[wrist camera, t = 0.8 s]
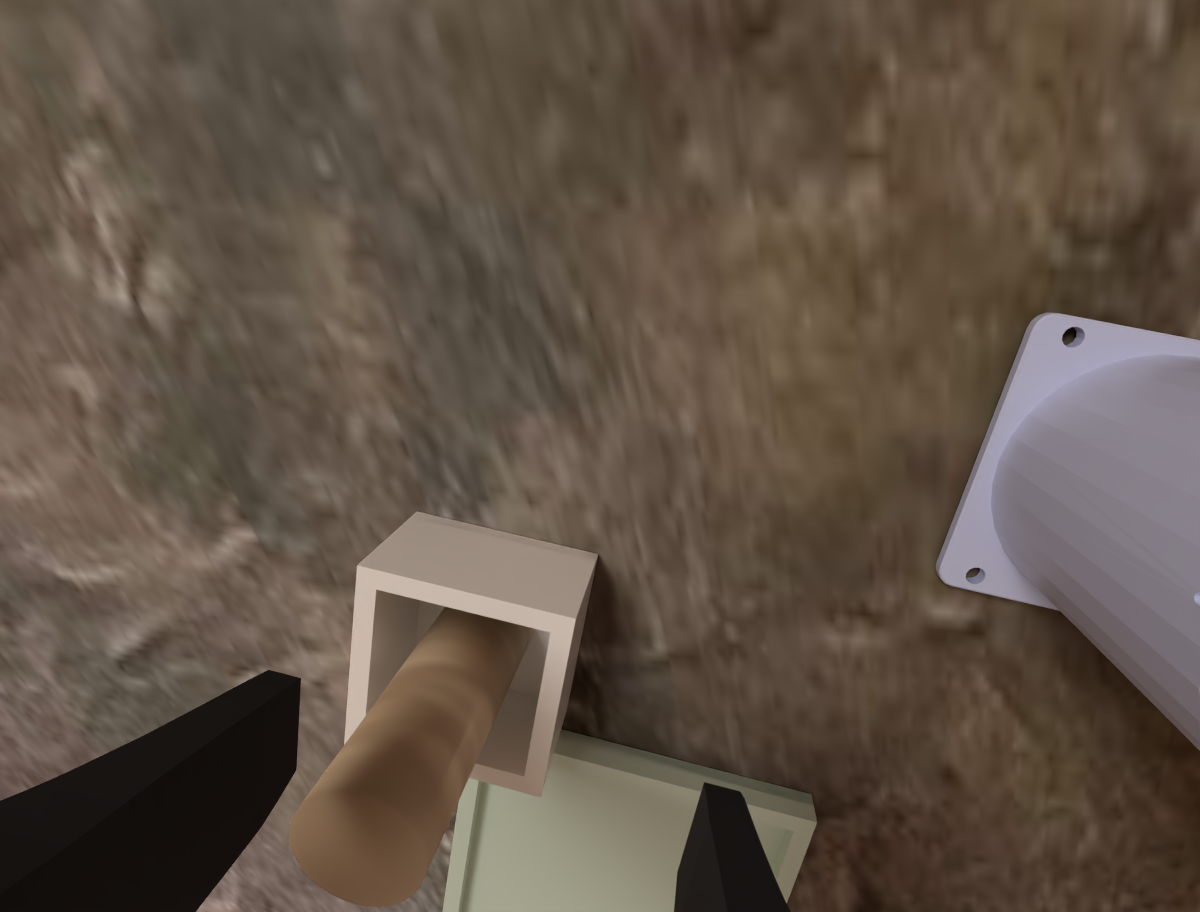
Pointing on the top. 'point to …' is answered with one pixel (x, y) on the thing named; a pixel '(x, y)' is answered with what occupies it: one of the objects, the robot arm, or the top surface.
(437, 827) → the dowel
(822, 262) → the top surface
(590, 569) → the open box
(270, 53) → the top surface
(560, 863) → the tray
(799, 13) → the top surface
